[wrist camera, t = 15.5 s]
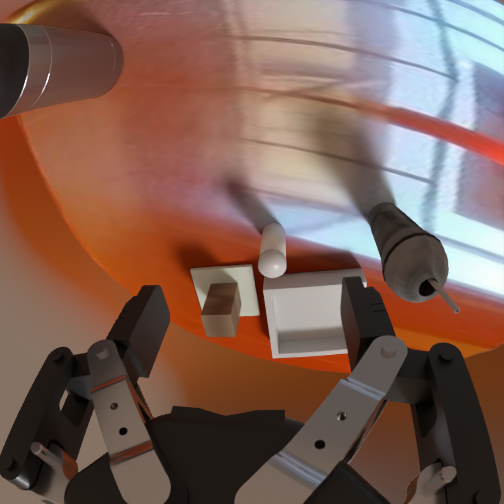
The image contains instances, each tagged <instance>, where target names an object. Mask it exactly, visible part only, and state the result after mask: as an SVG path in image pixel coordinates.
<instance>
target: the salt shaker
mask: <svg viewBox="0 0 504 504" xmlns="http://www.w3.org/2000/svg"><path fill="white" fill-rule="evenodd" d="M258 269H259V271H260V273H261V274H262V275H264V276H266V277H269V278H276V277H279V276H281V275H282V274H283V273H284V272H285V270H286V246H285V230H284V228H283V227H282V226H281V225H280V224H277V223H270V224H268V225H266V226H265V227H264V229H263V232H262V240H261V248H260V257H259V261H258Z"/></svg>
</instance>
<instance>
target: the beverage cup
mask: <svg viewBox="0 0 504 504" xmlns="http://www.w3.org/2000/svg"><path fill="white" fill-rule="evenodd" d="M369 224H370V227H371V231H372V234H373V237H374V239H375V242H376V245H377V248H378V251H379V254H380V257H381V263H382V269H383V270H382V273H383V277H384V281H385V282H386V283H387V285H388V286H389V287H390V288H391V289H392V291H393V292H394V293H395V294H396V295H397V296H399V297H401V298H402V299H404V300H406V301H410V302H424V301H427V300H429V299H431V298H433V297H434V296H436V295H437V294H438V293H439V294H440V295H441V296H442V298H443V299H444V300H445V301H446V302H447V304H448V305H449V306H450V307H451V308H452V310H453V311H454V312H455V313H458V312H459V311H460V309H459V307H458V306H457V305H456V304H455V303H454V302H453V300H452V299H451V298H450V297H449V296H448V294H447V293H446V292H445V291H444V290H443V289H442V288H443V286H444V284H445V283H446V280H447V276H448V270H449V268H448V259H447V255H446V253H445V250H444V248H443V246H442V244H441V242H440V240H439V239H437V238H436V237H435V236H434V235H431V234H430V233H428V232H427V231H425V230H423V229H422V228H421V227H419V226H418V225H417V224H416V223H415V222H414V221H413V220H412V219H410V218H409V217H408V216H407V215H406V214H405V213H404V212H402V211H401V210H400V209H399V208H397V207H396V206H394V205H393V204H391V203H381V204H379V205H377V206H376V207H374V208H373V210H372V211H371V213H370V216H369Z"/></svg>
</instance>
